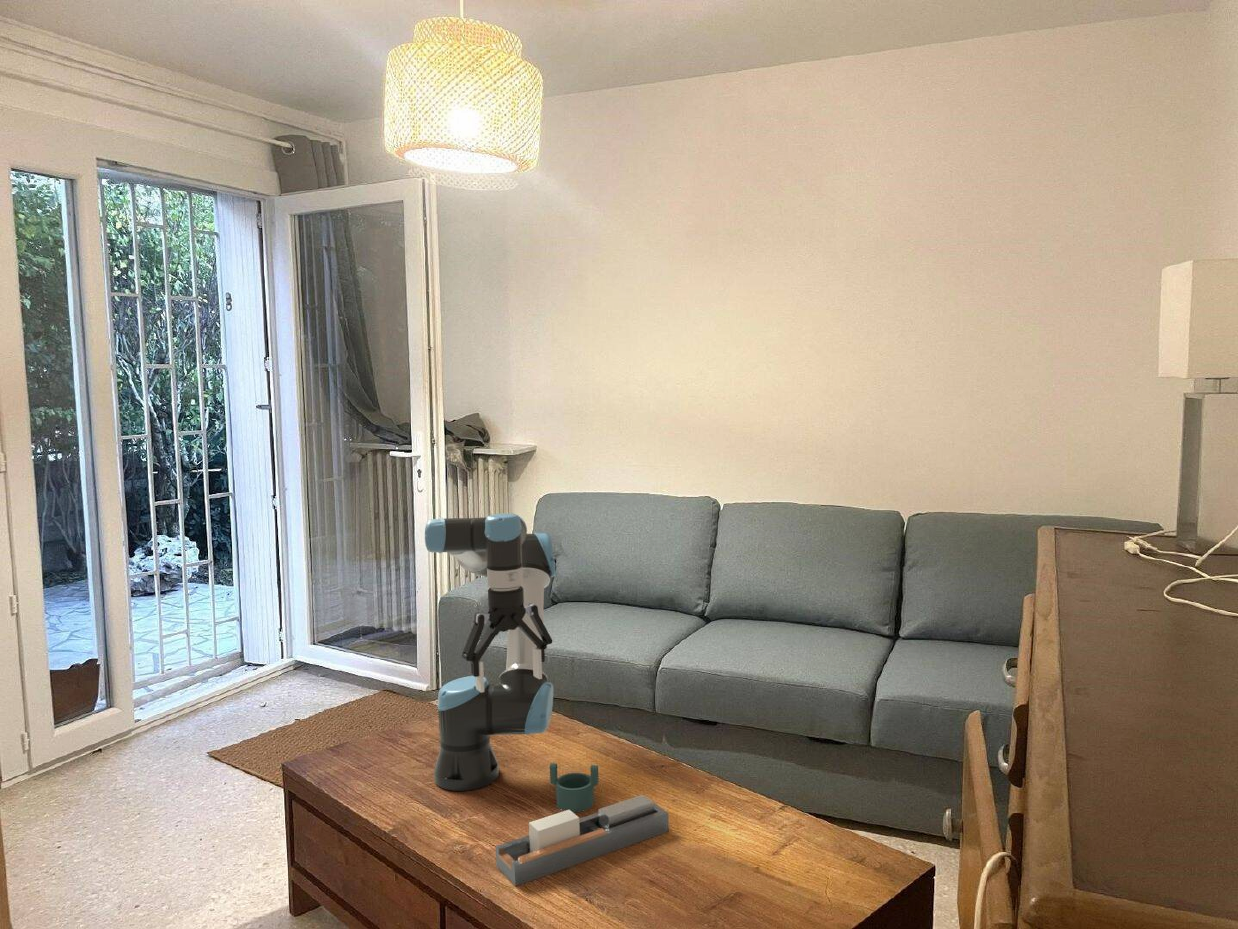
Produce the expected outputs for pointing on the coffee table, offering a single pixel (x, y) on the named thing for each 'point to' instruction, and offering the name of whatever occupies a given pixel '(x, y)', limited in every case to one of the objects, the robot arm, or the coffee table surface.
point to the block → (553, 830)
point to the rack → (584, 840)
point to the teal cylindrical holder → (574, 788)
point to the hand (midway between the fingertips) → (509, 684)
